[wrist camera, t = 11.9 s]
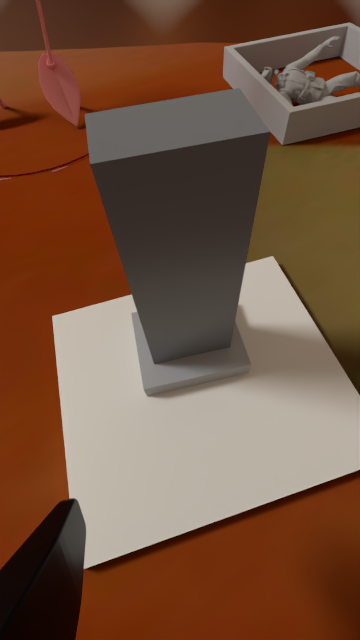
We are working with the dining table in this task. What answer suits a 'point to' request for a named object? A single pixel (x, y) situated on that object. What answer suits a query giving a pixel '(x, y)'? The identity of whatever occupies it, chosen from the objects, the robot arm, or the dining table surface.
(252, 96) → the display rim
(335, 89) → the soldier figure
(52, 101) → the figurine
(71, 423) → the board
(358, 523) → the dining table surface
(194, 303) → the gray pillar
